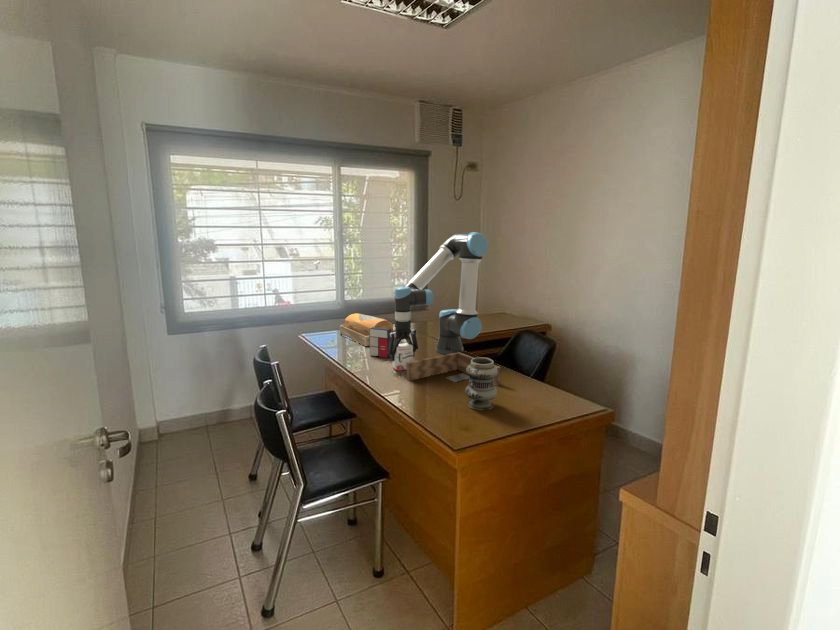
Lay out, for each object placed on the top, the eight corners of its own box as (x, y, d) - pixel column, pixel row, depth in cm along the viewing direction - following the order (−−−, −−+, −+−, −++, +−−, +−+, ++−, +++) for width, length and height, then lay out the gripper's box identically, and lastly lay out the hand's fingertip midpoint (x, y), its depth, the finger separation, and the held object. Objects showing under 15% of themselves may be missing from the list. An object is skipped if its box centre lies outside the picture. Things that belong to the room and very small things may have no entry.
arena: (458, 367, 211) (458, 351, 209) (499, 384, 188) (500, 367, 187) (406, 379, 194) (406, 362, 193) (444, 399, 172) (445, 380, 170)
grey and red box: (369, 356, 230) (368, 328, 227) (372, 354, 233) (372, 326, 230) (387, 358, 225) (387, 330, 223) (391, 356, 229) (391, 328, 226)
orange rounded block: (395, 341, 262) (394, 318, 259) (372, 345, 251) (372, 322, 248) (365, 332, 283) (365, 311, 280) (344, 336, 272) (343, 314, 270)
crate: (370, 330, 288) (370, 321, 286) (398, 341, 259) (398, 331, 258) (339, 334, 275) (339, 325, 274) (365, 347, 247) (365, 336, 246)
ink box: (396, 371, 205) (396, 347, 203) (392, 368, 210) (392, 344, 207) (413, 368, 209) (413, 344, 207) (408, 365, 214) (408, 342, 211)
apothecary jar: (474, 413, 159) (476, 366, 155) (459, 402, 170) (460, 357, 166) (502, 408, 163) (504, 362, 160) (485, 397, 174) (487, 354, 171)
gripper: (417, 316, 214) (417, 360, 218) (378, 321, 202) (379, 367, 206) (426, 318, 208) (425, 363, 212) (387, 324, 196) (387, 371, 200)
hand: (402, 365), depth 209 cm, fingers closed on ink box, 9 cm apart
